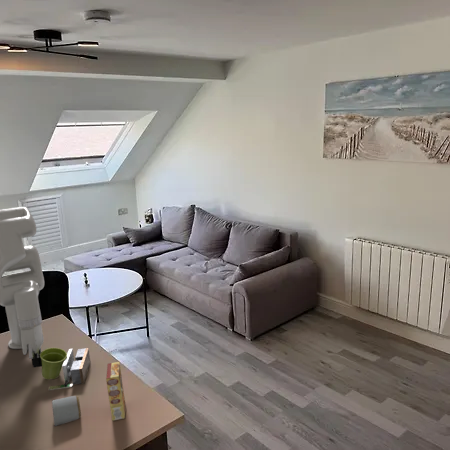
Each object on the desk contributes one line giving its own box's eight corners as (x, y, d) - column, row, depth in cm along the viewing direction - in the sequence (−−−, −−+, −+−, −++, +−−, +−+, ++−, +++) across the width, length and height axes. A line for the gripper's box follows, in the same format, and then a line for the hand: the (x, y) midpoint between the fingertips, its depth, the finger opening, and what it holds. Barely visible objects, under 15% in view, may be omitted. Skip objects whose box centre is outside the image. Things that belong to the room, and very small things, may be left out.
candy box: (125, 419, 132) (119, 376, 128) (111, 421, 131) (105, 378, 127) (125, 401, 140) (120, 361, 136) (112, 404, 139) (106, 363, 136)
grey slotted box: (48, 390, 148) (46, 375, 147) (59, 365, 164) (56, 351, 162) (83, 385, 150) (81, 370, 149) (90, 361, 165) (88, 348, 164)
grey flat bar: (63, 386, 149) (60, 369, 148) (71, 365, 163) (69, 349, 162) (75, 385, 150) (72, 368, 148) (82, 363, 164) (79, 347, 162)
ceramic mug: (82, 422, 131) (79, 401, 129) (55, 431, 128) (51, 409, 126) (79, 403, 140) (75, 383, 139) (53, 411, 137) (49, 391, 135)
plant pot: (69, 373, 160) (72, 353, 158) (52, 386, 151) (55, 365, 149) (49, 364, 162) (52, 344, 160) (31, 376, 153) (34, 355, 151)
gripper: (25, 313, 157) (33, 356, 161) (12, 331, 143) (21, 379, 147) (46, 310, 158) (53, 354, 162) (35, 329, 144) (43, 376, 148)
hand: (38, 365), depth 155 cm, fingers closed
